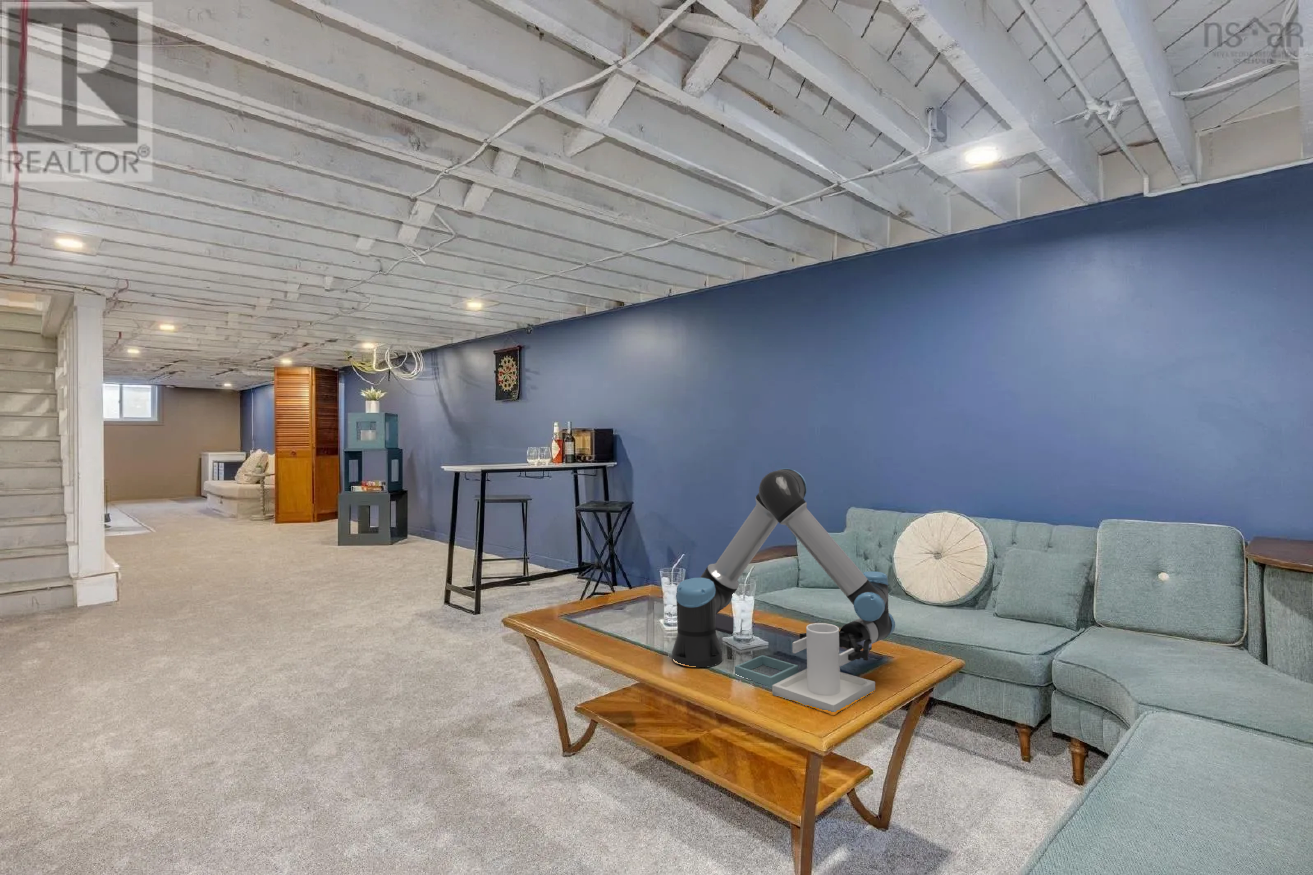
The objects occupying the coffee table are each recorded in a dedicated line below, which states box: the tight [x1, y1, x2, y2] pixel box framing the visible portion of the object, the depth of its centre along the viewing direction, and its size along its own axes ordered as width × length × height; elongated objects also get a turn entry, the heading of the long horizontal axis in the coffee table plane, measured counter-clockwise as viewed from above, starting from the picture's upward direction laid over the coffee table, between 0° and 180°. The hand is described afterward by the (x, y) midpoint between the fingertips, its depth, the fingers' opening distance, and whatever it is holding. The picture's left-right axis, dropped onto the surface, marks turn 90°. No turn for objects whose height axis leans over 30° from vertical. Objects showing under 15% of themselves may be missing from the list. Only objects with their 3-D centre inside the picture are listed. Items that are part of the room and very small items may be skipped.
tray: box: [771, 668, 876, 712], centre depth 166 cm, size 20×18×2 cm
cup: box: [805, 622, 841, 695], centre depth 166 cm, size 8×8×16 cm
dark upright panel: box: [716, 613, 756, 635], centre depth 228 cm, size 13×2×21 cm
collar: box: [734, 654, 799, 688], centre depth 179 cm, size 13×13×2 cm
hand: (815, 654), depth 164 cm, fingers open, 13 cm apart
